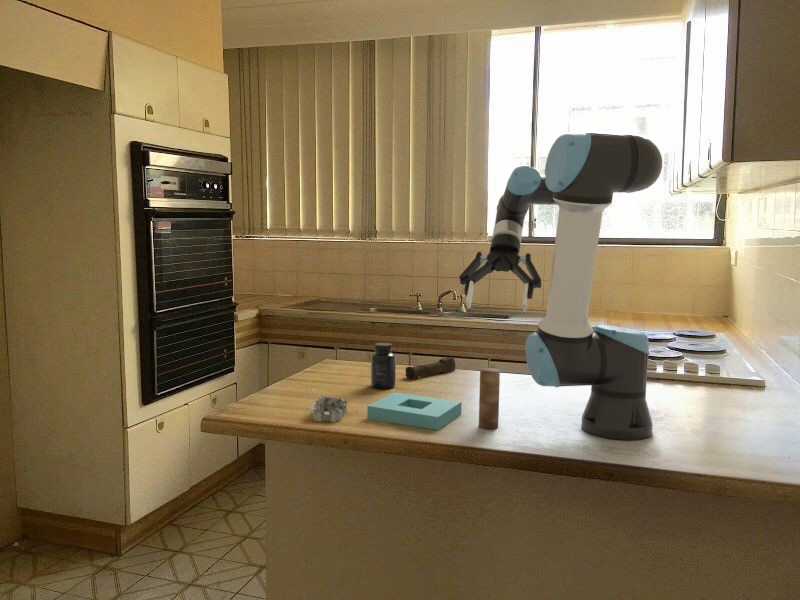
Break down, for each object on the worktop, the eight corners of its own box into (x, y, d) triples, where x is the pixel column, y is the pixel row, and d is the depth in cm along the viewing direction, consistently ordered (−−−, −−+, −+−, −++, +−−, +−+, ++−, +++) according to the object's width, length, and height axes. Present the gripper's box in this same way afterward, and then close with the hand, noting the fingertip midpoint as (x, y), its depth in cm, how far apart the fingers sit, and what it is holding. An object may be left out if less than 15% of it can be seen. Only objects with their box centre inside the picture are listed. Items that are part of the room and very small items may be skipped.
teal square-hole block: (461, 414, 160) (461, 401, 160) (437, 430, 148) (438, 417, 147) (394, 403, 168) (395, 392, 168) (367, 418, 156) (367, 405, 155)
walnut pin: (500, 425, 151) (502, 369, 150) (494, 430, 148) (496, 373, 146) (482, 422, 153) (484, 367, 152) (475, 427, 150) (477, 371, 148)
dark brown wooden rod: (413, 381, 193) (413, 365, 192) (404, 378, 196) (404, 363, 195) (461, 373, 204) (461, 358, 204) (452, 370, 207) (452, 355, 207)
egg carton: (340, 424, 152) (340, 406, 152) (308, 422, 153) (308, 404, 153) (350, 410, 163) (350, 394, 162) (320, 408, 164) (320, 392, 163)
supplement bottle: (400, 386, 185) (401, 344, 184) (383, 390, 181) (383, 347, 179) (382, 382, 190) (383, 340, 189) (365, 386, 185) (366, 344, 184)
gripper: (555, 252, 173) (548, 318, 160) (460, 250, 180) (447, 312, 167) (554, 232, 167) (548, 299, 155) (457, 230, 174) (443, 294, 161)
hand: (495, 306), depth 161 cm, fingers open, 13 cm apart
